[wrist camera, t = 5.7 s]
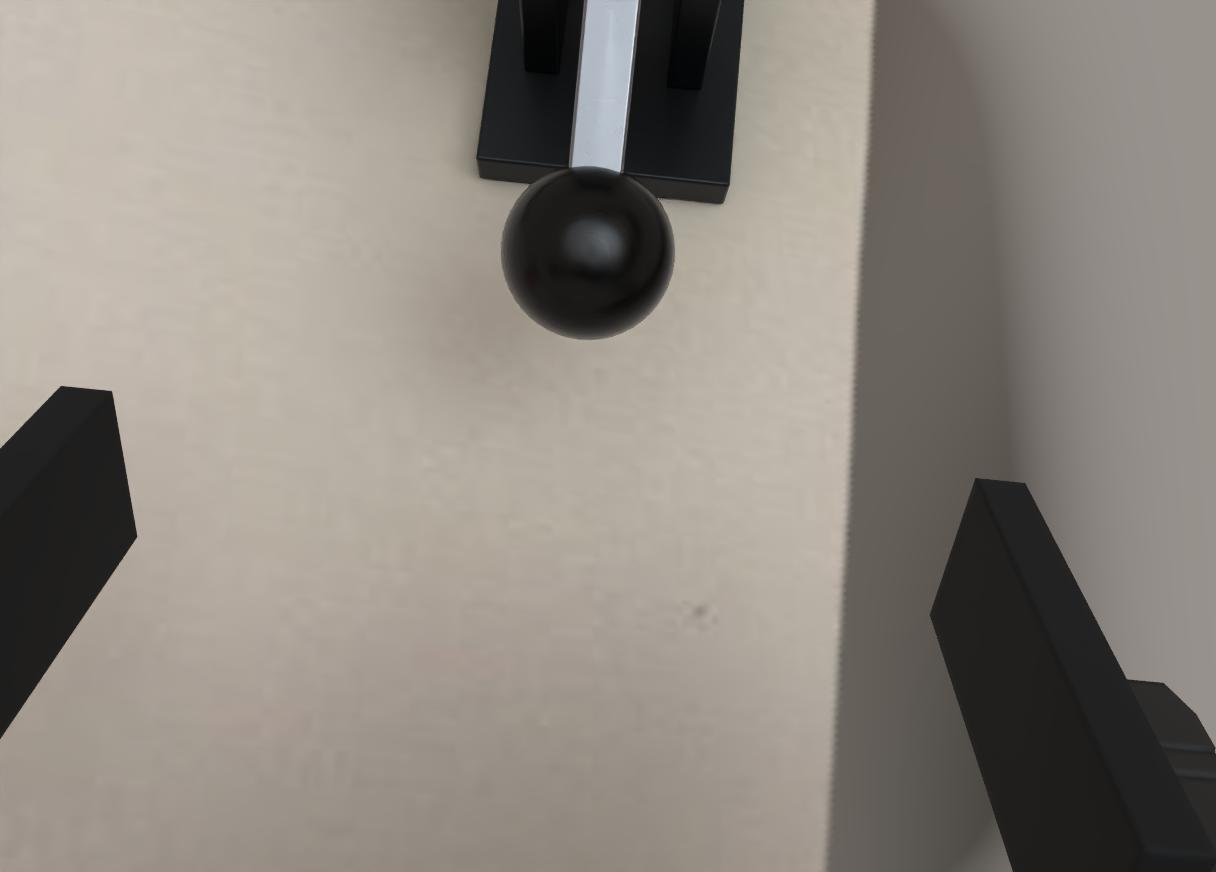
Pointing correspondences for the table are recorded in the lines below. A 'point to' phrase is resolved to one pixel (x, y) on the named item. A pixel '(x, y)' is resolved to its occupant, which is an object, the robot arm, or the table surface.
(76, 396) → the robot arm
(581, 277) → the lever
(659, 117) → the switch bracket
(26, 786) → the table surface
